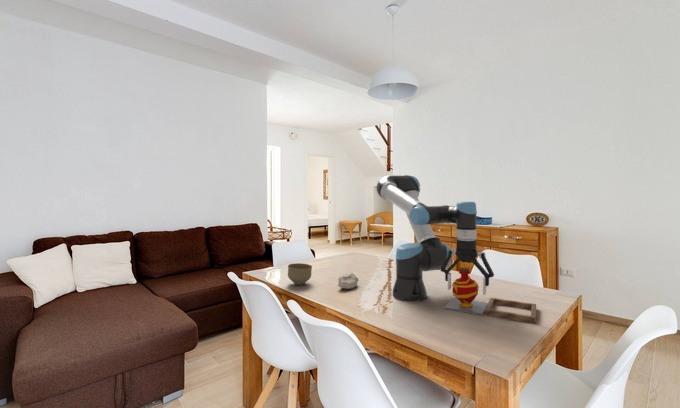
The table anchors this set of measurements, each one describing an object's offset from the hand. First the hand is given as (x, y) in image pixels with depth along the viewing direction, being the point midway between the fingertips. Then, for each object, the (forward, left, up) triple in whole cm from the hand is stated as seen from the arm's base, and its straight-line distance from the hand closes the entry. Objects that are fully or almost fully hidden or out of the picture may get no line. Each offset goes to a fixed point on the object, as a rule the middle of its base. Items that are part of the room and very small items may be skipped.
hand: (466, 291), depth 133 cm
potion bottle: (0, 0, -6) cm, 6 cm away
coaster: (0, 0, -6) cm, 6 cm away
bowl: (-81, -7, -6) cm, 82 cm away
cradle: (+16, +2, -6) cm, 17 cm away
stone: (-56, 0, -6) cm, 56 cm away
